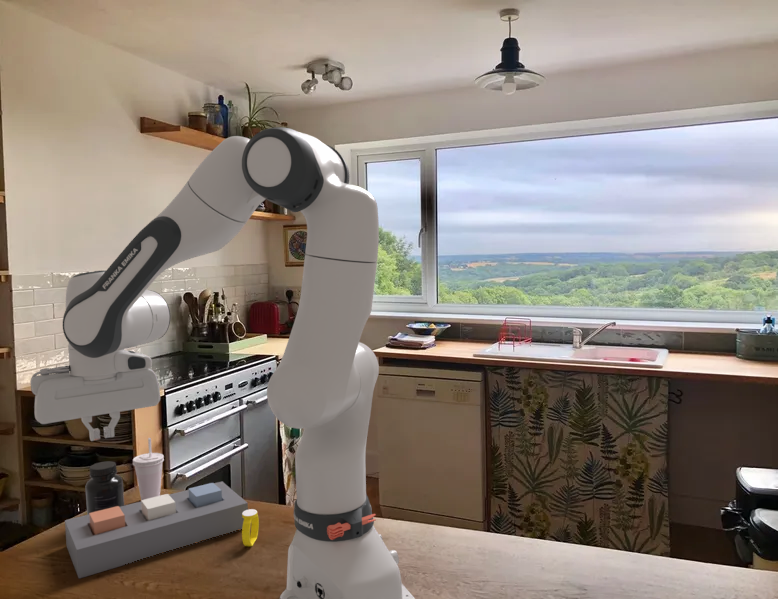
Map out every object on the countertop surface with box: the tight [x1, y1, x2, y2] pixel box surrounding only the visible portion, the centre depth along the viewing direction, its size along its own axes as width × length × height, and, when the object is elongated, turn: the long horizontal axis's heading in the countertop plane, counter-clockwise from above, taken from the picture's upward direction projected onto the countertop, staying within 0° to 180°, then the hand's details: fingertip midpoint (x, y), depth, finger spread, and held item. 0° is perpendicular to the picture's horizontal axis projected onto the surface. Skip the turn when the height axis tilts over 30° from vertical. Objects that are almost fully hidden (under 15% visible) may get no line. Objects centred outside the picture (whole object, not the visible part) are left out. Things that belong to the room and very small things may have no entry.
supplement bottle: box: [84, 460, 125, 515], centre depth 121 cm, size 7×7×12 cm
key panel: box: [64, 481, 249, 579], centre depth 114 cm, size 30×14×5 cm, turn 126°
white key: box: [140, 493, 176, 521], centre depth 114 cm, size 5×5×4 cm
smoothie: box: [132, 437, 165, 501], centre depth 131 cm, size 6×6×14 cm
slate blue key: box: [187, 482, 222, 508], centre depth 119 cm, size 5×5×4 cm
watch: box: [241, 508, 260, 547], centre depth 111 cm, size 6×3×6 cm, turn 176°
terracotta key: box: [89, 506, 125, 535], centre depth 109 cm, size 5×5×4 cm
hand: (102, 438), depth 108 cm, fingers closed
